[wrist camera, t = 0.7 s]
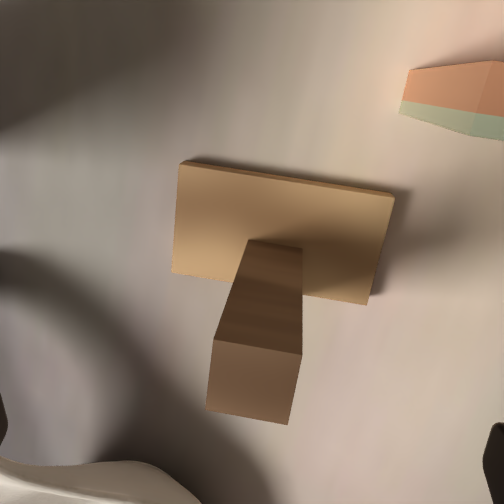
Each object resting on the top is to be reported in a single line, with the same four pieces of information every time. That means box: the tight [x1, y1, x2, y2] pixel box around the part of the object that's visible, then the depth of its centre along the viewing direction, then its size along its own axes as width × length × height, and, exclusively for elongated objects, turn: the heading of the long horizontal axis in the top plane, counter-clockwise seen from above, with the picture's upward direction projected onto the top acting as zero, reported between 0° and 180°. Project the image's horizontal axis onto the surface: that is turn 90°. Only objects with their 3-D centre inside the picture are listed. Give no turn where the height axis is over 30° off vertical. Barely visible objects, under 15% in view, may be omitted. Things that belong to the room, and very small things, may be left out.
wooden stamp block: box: [171, 161, 395, 425], centre depth 16 cm, size 5×9×9 cm, turn 82°
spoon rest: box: [0, 456, 202, 504], centre depth 22 cm, size 24×12×7 cm, turn 29°
